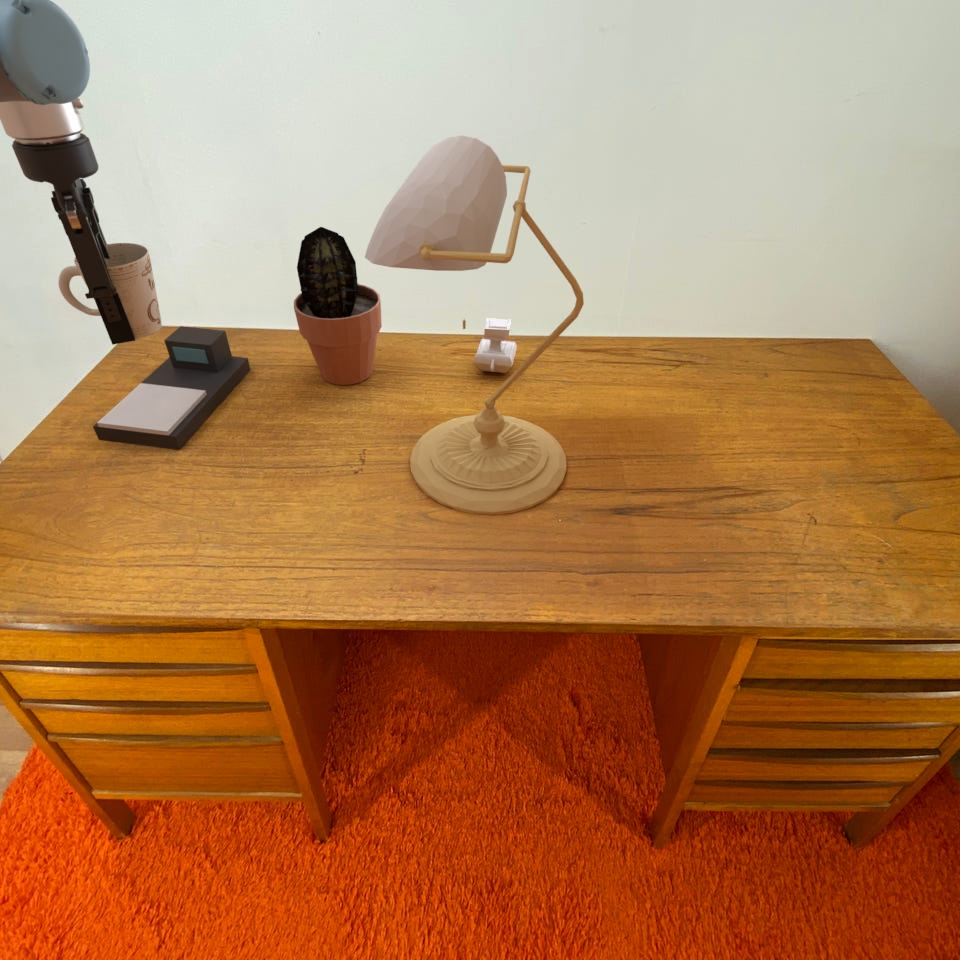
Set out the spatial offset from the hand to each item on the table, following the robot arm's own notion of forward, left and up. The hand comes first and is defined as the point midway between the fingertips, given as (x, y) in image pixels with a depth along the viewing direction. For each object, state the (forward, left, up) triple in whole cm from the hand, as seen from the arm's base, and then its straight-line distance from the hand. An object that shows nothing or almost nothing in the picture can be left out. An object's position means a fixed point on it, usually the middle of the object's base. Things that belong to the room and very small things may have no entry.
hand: (122, 329), depth 84 cm
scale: (+3, +8, -17) cm, 19 cm away
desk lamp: (+41, -26, -17) cm, 52 cm away
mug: (0, +1, 0) cm, 1 cm away
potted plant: (+30, +6, -17) cm, 35 cm away
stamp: (+54, -3, -17) cm, 57 cm away
